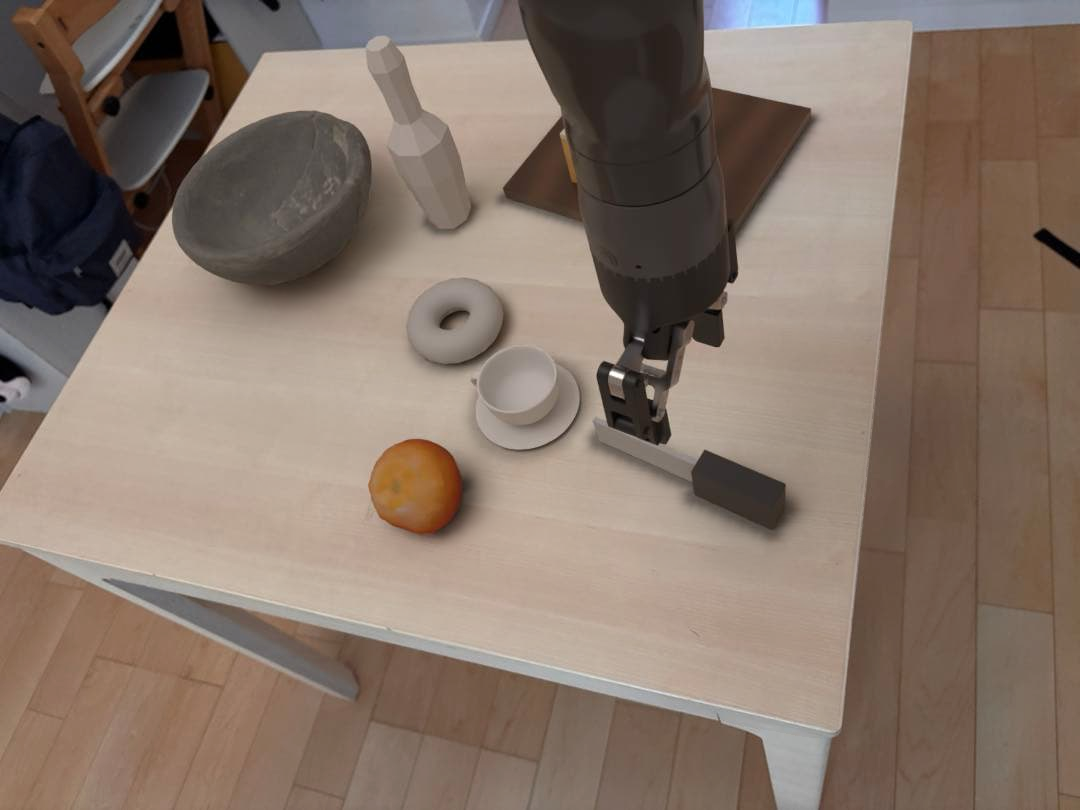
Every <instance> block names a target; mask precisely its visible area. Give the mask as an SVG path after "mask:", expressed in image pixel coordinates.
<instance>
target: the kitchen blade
mask: <svg viewBox="0 0 1080 810" xmlns="http://www.w3.org/2000/svg"><path fill="white" fill-rule="evenodd" d="M592 424H593V426H594V430H595V432H596V436H597V439H598V441H599V442H601V443H603V444H606V445H608V446H610V447H612V448H614V449H616V450H618V451H621V452H622V453H626V454H628V455H630V456H632V457H635V458H636V459H639V460H641V461H643V462H646V463H648V464H650V465H652V466H655V467H657V468H659V469H661V470H664V471H665V472H668V473H671V474H673V475H675V476H677V477H680V478H681V479H684V480H686V481H689V482H690V483H692V488H693V494H694V495H695V496H696V497H699V498H701V499H703V500H706V501H707V502H710V503H712V504H714V505H716V506H718V507H721V508H723V509H725V510H727V511H730V512H732V513H734V514H736V515H738V516H740V517H742V518H744V519H747V520H748V521H749V520H750V521H751V522H753V523H756V524H758V525H760V526H763V527H764V528H767V529H769V530H771V531H773V530H774V528H775V527H776V525H777V523H778V521H779V519H780V517H781V515H782V513H783V512H784V510H785V508H786V491H787V490H786V489H787V488H786V487H787V485H786V483H785V482H783V481H780V480H777V479H775V478H773V477H772V476H768V475H767V474H764V473H761V472H759V471H757V470H754V469H752V468H749V467H747V466H744V465H742V464H740V463H738V462H735V461H733V460H730V459H728V458H726V457H724V456H722V455H720V454H717V453H714V452H713V451H709V450H707V449H703V451H702V453H701V455H700V456H699V458H698V460H697V459H695V458H693V457H691V456H688V455H685V454H683V453H681V452H680V451H676V450H674V449H672V448H669V447H667V446H666V445H664V444H660V443H659V445H658V446H657V445H654V444H652V443H649V442H646V441H644V440H641V439H639V438H637V437H634V436H632V435H629V434H626V433H624V432H621V431H618V430H616V429H613V428H610V427H608V424H607V420H606V419H603V418H600V417H598V416H594V417H593V419H592Z"/></svg>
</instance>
